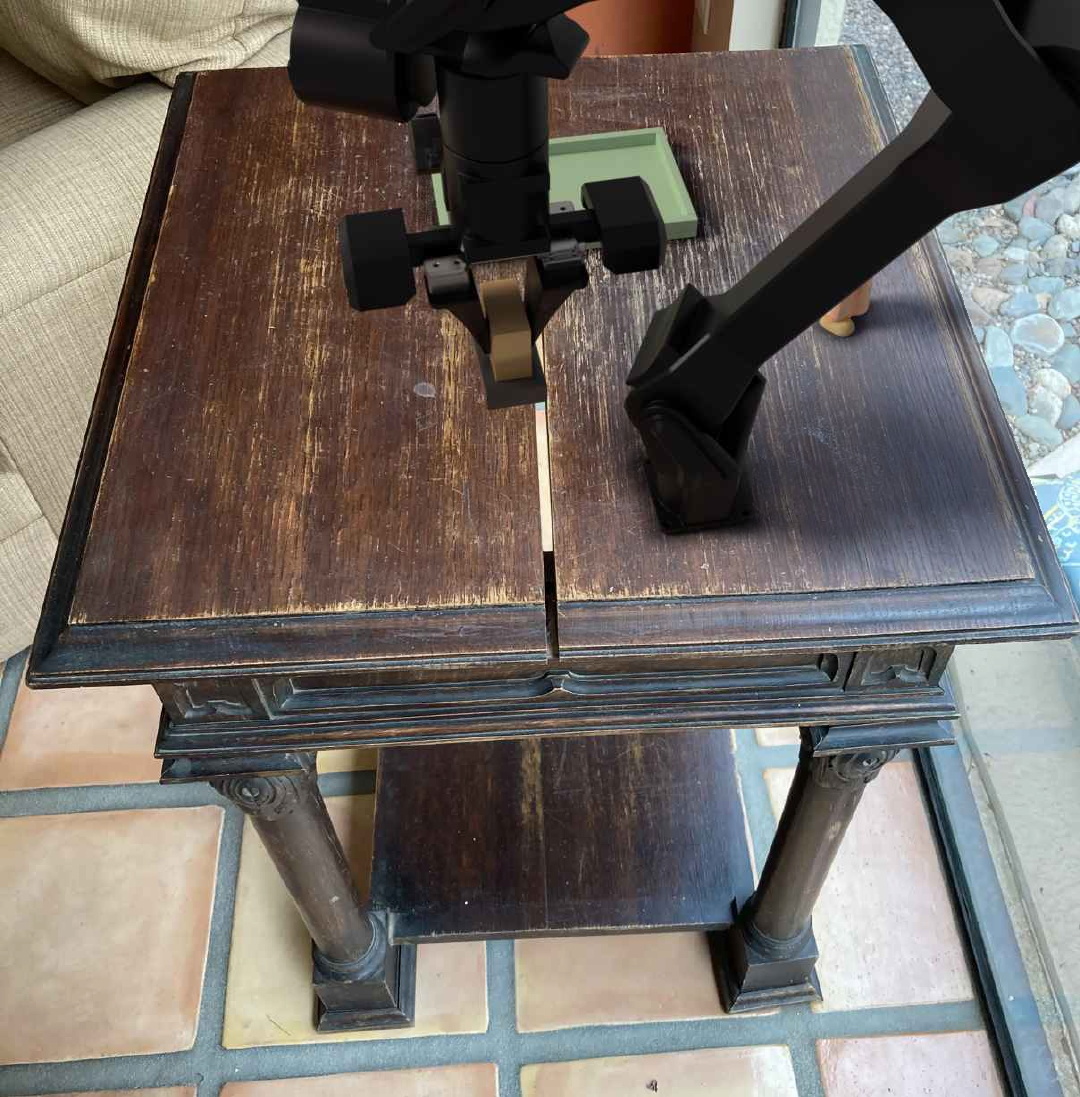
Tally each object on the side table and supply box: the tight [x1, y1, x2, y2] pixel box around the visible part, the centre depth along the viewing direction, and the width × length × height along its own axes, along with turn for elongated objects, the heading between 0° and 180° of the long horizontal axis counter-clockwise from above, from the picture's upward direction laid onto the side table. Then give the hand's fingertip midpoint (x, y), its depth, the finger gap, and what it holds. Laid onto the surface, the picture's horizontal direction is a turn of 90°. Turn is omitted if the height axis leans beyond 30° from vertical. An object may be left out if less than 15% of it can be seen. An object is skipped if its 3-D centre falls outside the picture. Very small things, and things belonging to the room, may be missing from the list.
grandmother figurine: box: [819, 277, 873, 338], centre depth 79 cm, size 8×4×13 cm, turn 168°
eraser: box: [470, 277, 549, 412], centre depth 68 cm, size 7×4×6 cm, turn 11°
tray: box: [430, 126, 699, 250], centre depth 92 cm, size 14×22×2 cm, turn 99°
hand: (507, 346), depth 69 cm, fingers closed on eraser, 2 cm apart
